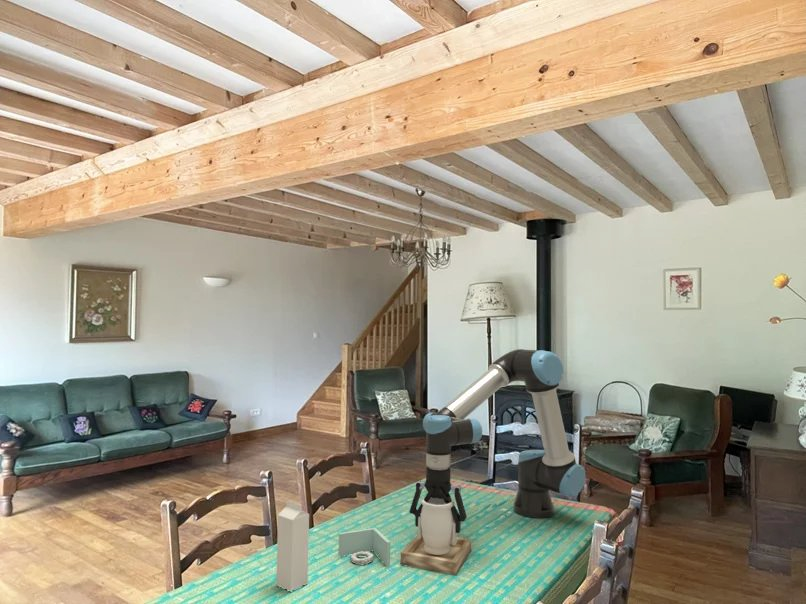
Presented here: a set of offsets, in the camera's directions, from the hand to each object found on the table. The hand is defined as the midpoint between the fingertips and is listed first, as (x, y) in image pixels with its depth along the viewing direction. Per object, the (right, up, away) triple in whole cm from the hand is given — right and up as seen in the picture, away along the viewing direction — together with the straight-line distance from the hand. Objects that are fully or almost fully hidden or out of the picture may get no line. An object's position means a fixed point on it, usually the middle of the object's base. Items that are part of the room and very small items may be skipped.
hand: (437, 540), depth 161 cm
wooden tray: (0, -5, 0) cm, 5 cm away
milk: (-41, -4, -19) cm, 45 cm away
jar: (0, -3, 0) cm, 3 cm away
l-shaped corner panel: (-22, -6, -3) cm, 23 cm away
